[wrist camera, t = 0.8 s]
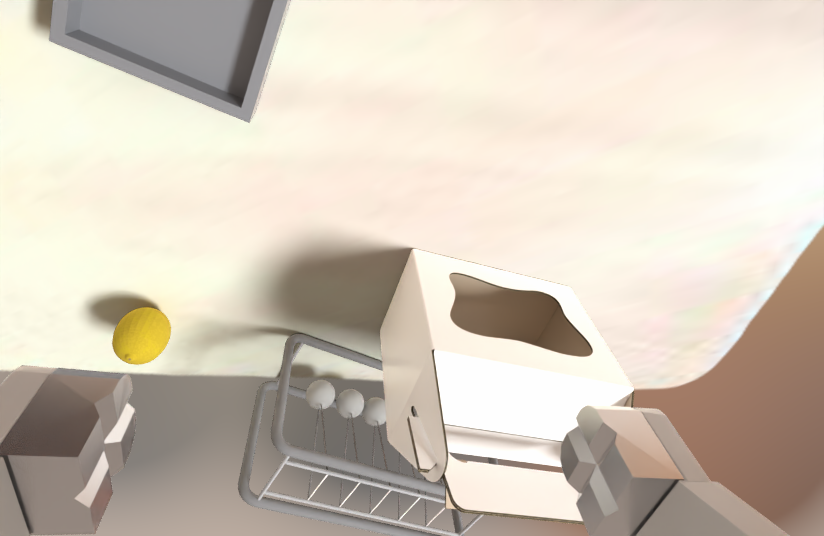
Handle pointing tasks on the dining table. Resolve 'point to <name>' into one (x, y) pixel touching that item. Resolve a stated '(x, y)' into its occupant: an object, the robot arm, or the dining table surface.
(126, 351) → the lemon
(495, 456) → the gable box
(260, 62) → the grey tray
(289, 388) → the newton's cradle
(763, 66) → the dining table surface
